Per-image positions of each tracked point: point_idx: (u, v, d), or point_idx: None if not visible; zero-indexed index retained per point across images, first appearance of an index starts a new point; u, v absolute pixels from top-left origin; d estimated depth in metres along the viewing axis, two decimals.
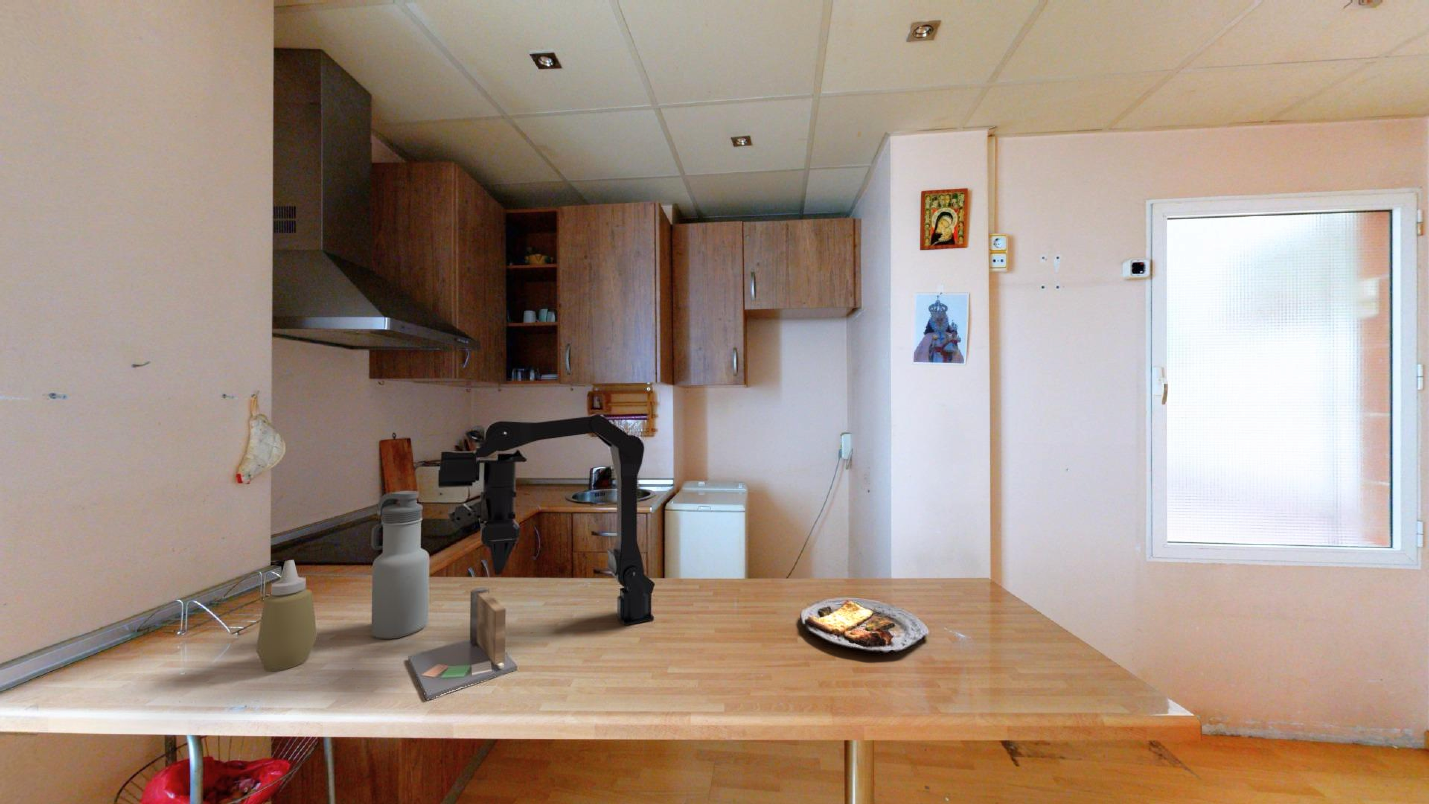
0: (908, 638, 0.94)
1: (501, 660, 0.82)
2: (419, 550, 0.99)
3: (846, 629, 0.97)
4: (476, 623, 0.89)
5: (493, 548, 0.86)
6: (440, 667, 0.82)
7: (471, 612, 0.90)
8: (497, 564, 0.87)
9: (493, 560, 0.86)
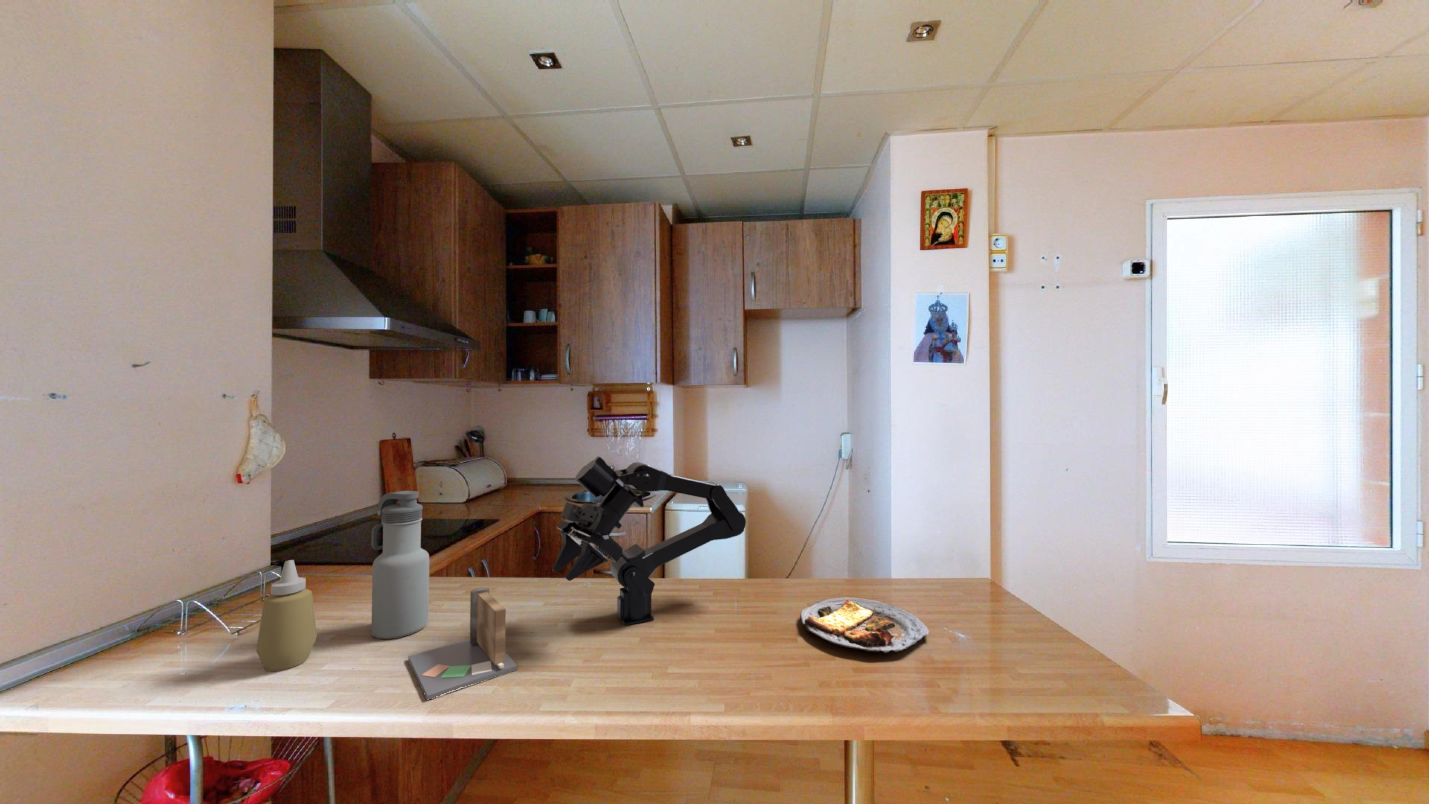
0: (908, 638, 0.94)
1: (501, 660, 0.82)
2: (419, 550, 0.99)
3: (846, 629, 0.97)
4: (476, 623, 0.89)
5: (585, 555, 0.92)
6: (440, 667, 0.82)
7: (471, 612, 0.90)
8: (575, 570, 0.92)
9: (576, 565, 0.92)
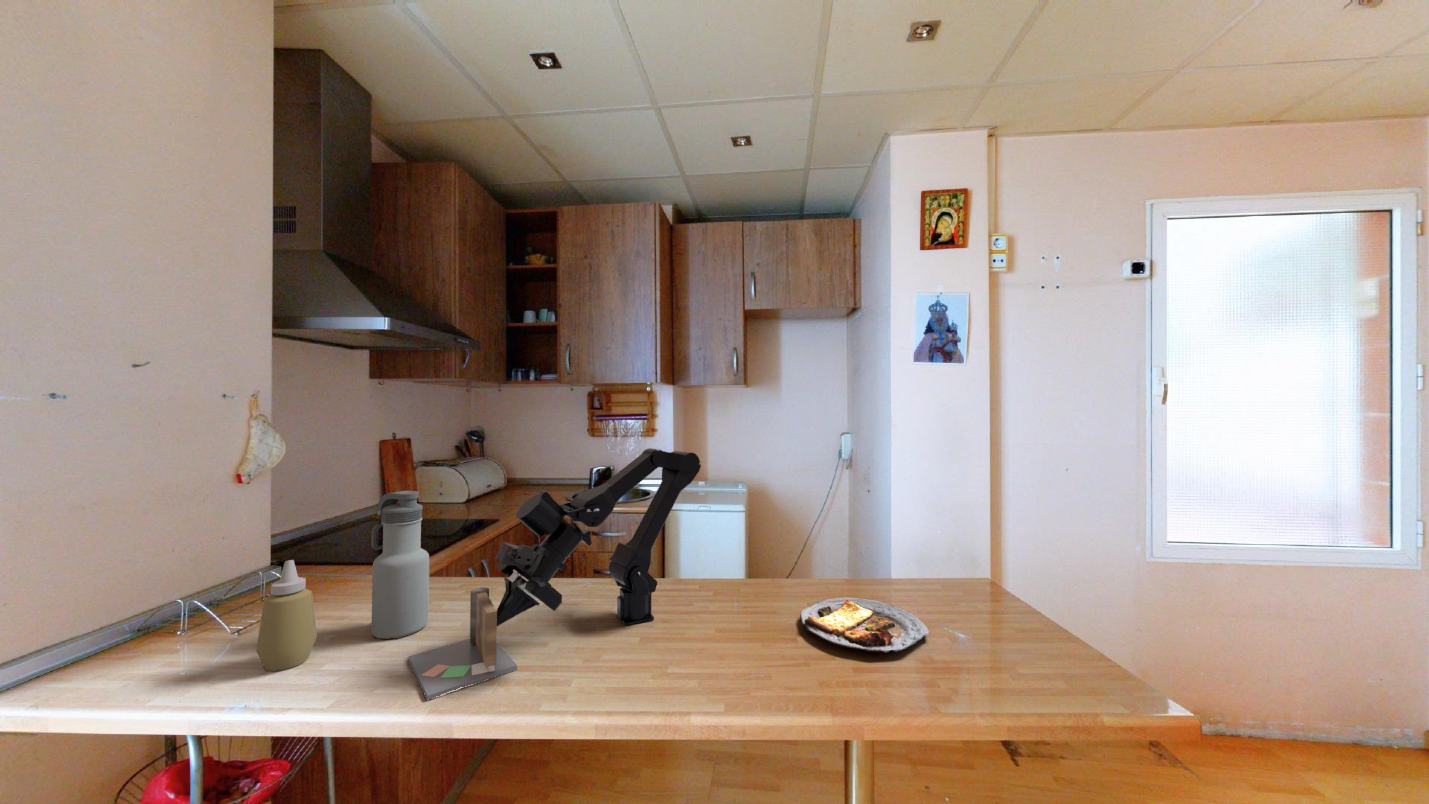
0: (908, 638, 0.94)
1: (492, 663, 0.81)
2: (419, 550, 0.99)
3: (846, 629, 0.97)
4: (475, 623, 0.89)
5: (515, 598, 0.86)
6: (440, 667, 0.82)
7: (471, 612, 0.90)
8: (503, 615, 0.85)
9: (504, 609, 0.85)
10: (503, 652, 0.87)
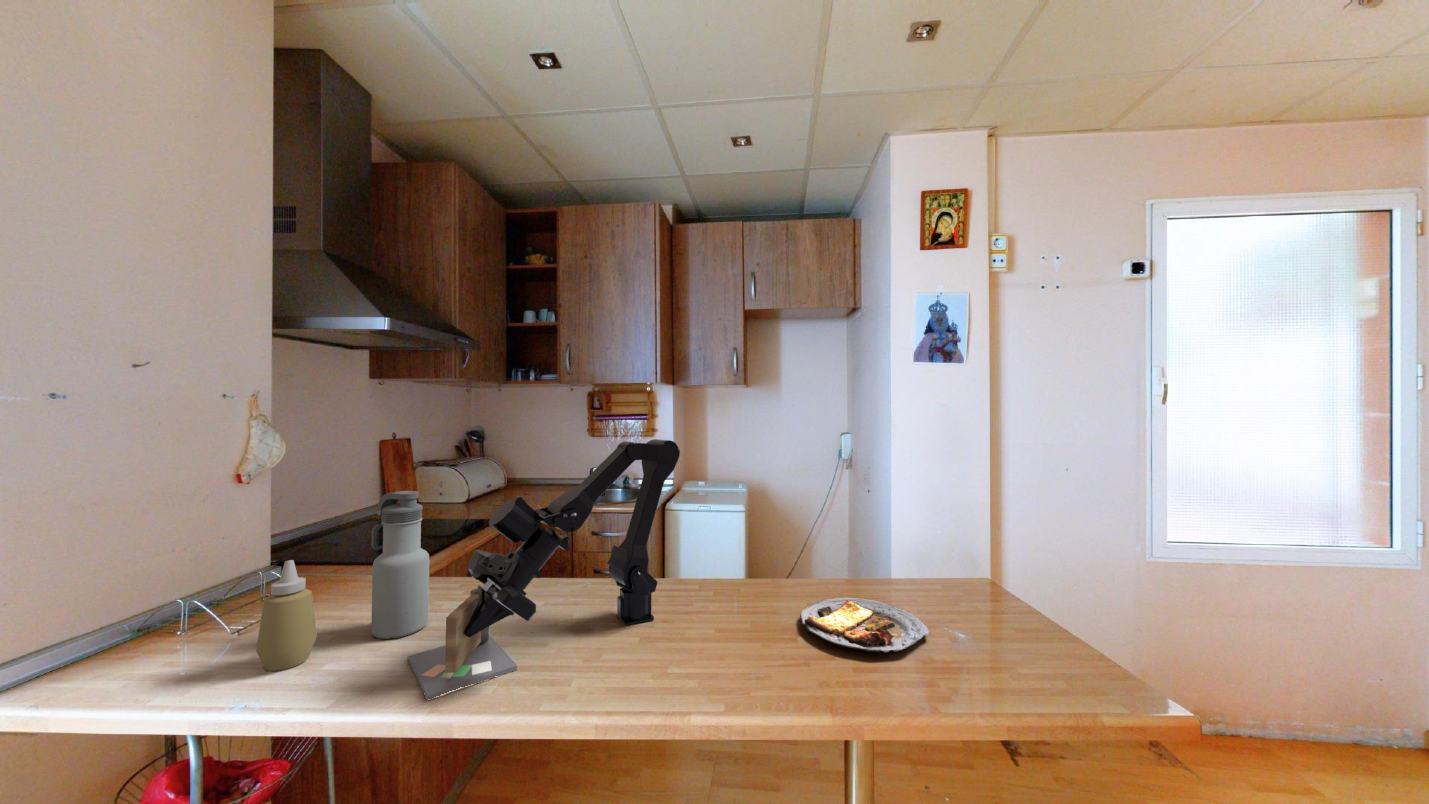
0: (908, 638, 0.94)
1: (451, 670, 0.79)
2: (419, 550, 0.99)
3: (846, 629, 0.97)
4: None
5: (488, 608, 0.83)
6: (440, 667, 0.82)
7: None
8: (476, 626, 0.82)
9: (477, 619, 0.82)
10: (503, 652, 0.87)
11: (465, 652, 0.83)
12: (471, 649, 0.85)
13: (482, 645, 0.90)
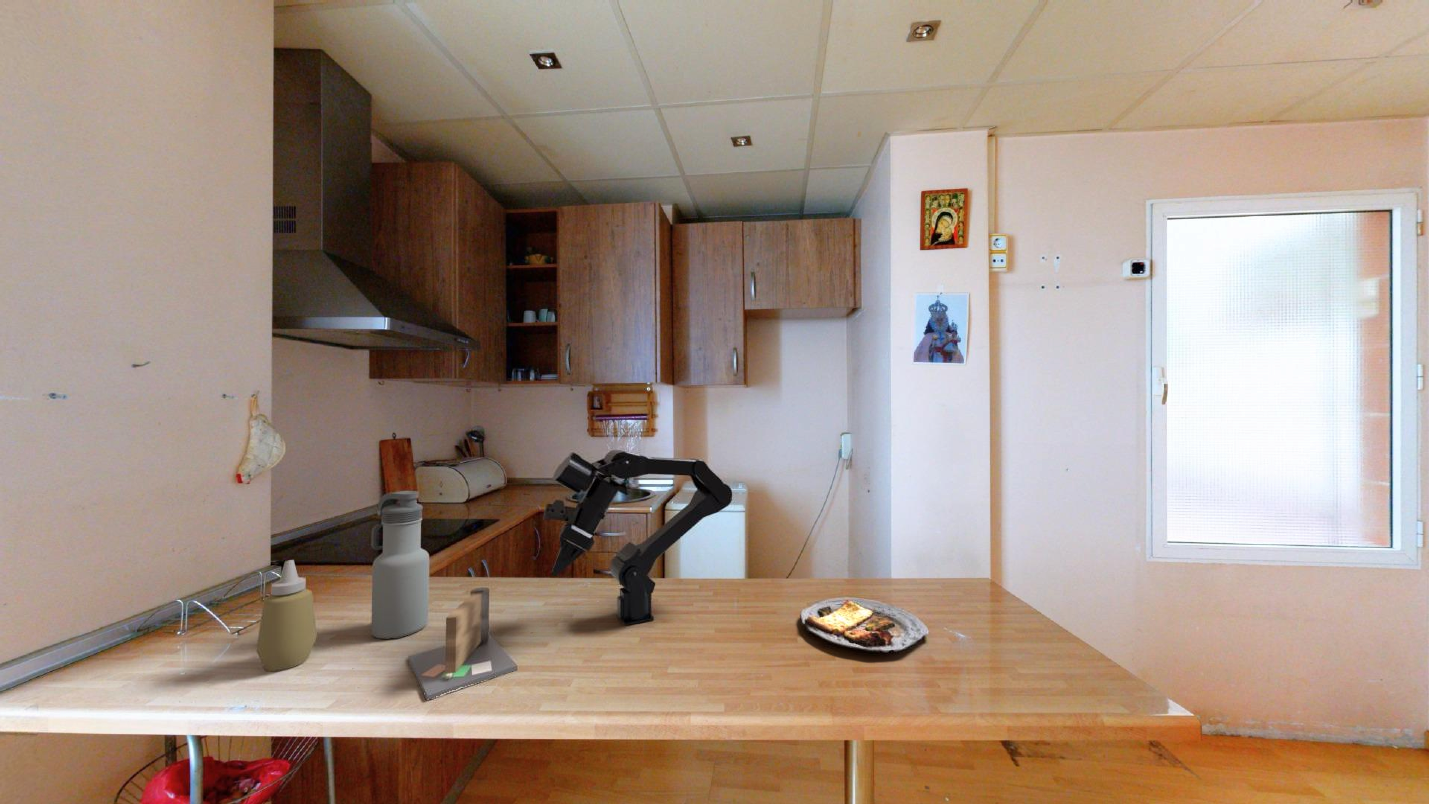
0: (908, 638, 0.94)
1: (451, 670, 0.79)
2: (419, 550, 0.99)
3: (846, 629, 0.97)
4: None
5: (563, 548, 0.95)
6: (440, 667, 0.82)
7: None
8: (558, 565, 0.95)
9: (557, 559, 0.95)
10: (503, 652, 0.87)
11: (465, 652, 0.83)
12: (471, 649, 0.85)
13: (482, 645, 0.90)
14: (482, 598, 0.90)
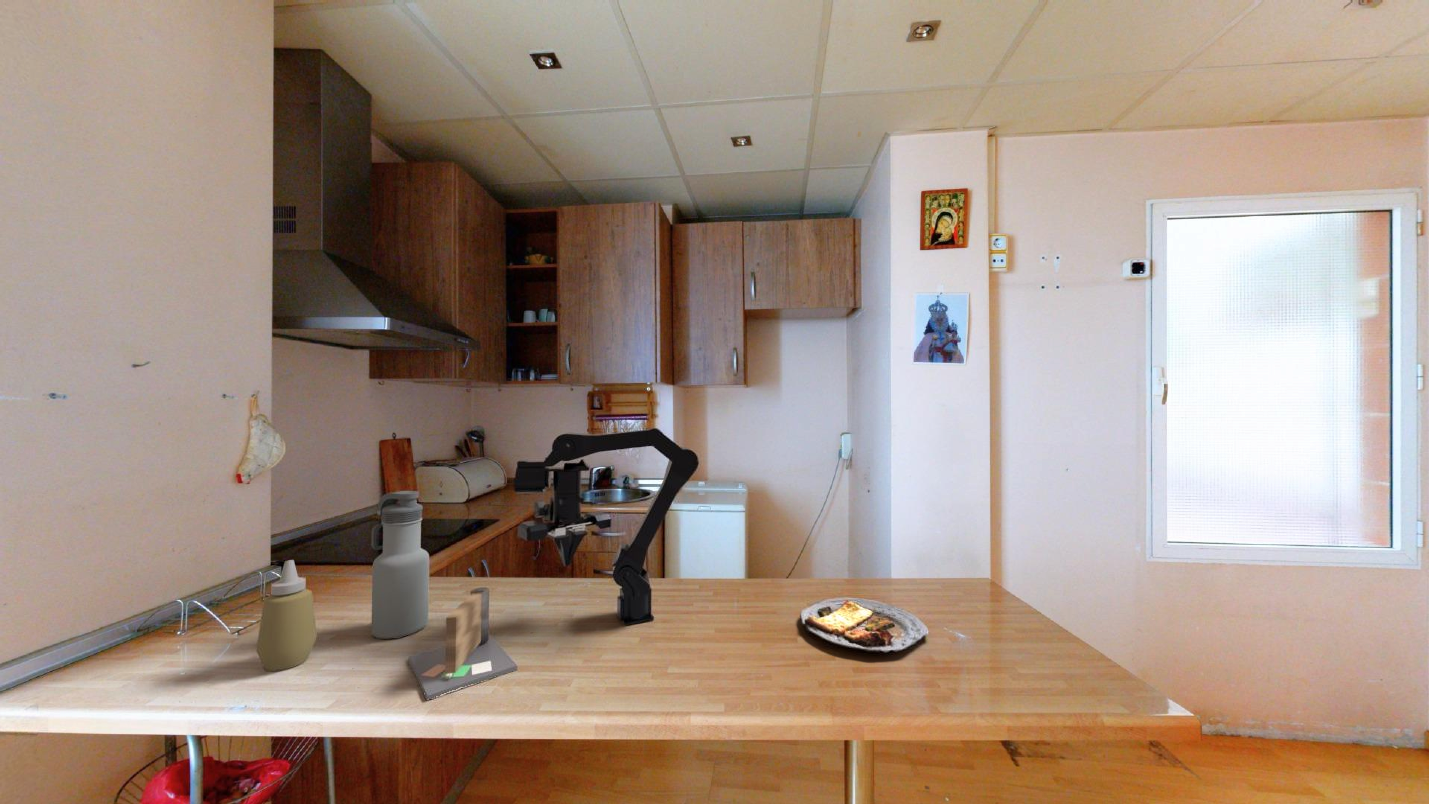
0: (908, 638, 0.94)
1: (451, 670, 0.79)
2: (419, 550, 0.99)
3: (846, 629, 0.97)
4: None
5: (556, 541, 1.01)
6: (440, 667, 0.82)
7: None
8: (561, 556, 1.01)
9: (559, 552, 1.01)
10: (503, 652, 0.87)
11: (465, 652, 0.83)
12: (471, 649, 0.85)
13: (482, 645, 0.90)
14: (482, 598, 0.90)
